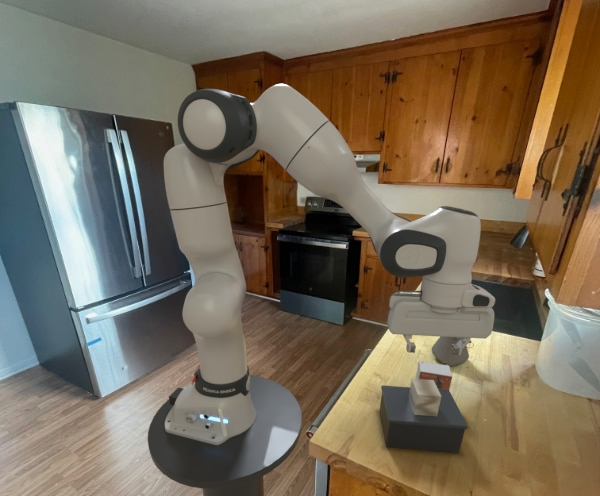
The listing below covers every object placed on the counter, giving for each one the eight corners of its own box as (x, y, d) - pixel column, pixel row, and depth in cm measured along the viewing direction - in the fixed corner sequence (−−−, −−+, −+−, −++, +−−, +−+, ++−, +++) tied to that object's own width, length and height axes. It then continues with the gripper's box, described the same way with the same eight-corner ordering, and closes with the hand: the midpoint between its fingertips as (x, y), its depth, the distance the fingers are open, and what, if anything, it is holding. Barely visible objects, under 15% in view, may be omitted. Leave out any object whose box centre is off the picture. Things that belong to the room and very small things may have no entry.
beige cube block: (414, 414, 73) (417, 394, 71) (408, 397, 79) (411, 378, 77) (437, 416, 73) (441, 396, 71) (429, 399, 78) (433, 379, 76)
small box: (413, 404, 89) (419, 371, 85) (412, 392, 94) (418, 360, 90) (445, 410, 87) (452, 376, 83) (442, 397, 92) (449, 364, 88)
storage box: (384, 448, 74) (389, 420, 71) (378, 410, 86) (381, 385, 83) (460, 454, 73) (468, 426, 70) (443, 415, 85) (449, 390, 82)
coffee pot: (427, 349, 116) (434, 310, 111) (462, 353, 114) (471, 313, 109) (439, 384, 97) (448, 339, 91) (480, 389, 95) (493, 344, 89)
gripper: (393, 295, 63) (385, 357, 68) (504, 299, 61) (488, 363, 67) (388, 284, 69) (381, 342, 74) (489, 288, 67) (475, 347, 72)
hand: (432, 352), depth 70 cm, fingers open, 8 cm apart
